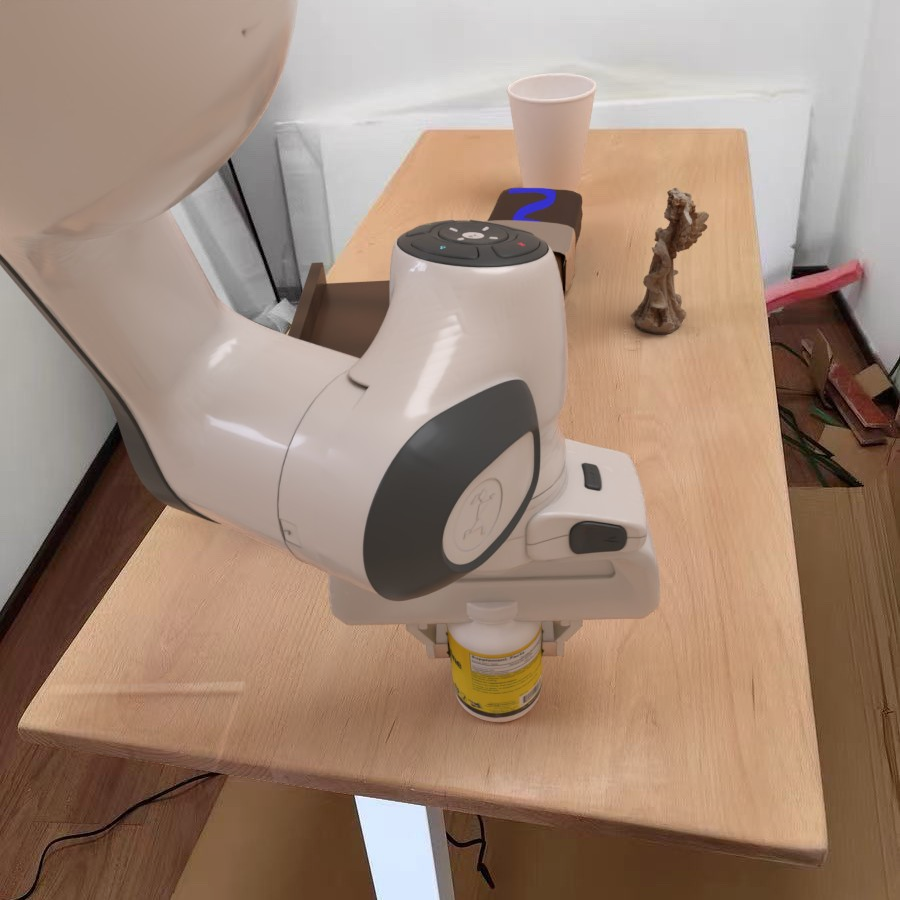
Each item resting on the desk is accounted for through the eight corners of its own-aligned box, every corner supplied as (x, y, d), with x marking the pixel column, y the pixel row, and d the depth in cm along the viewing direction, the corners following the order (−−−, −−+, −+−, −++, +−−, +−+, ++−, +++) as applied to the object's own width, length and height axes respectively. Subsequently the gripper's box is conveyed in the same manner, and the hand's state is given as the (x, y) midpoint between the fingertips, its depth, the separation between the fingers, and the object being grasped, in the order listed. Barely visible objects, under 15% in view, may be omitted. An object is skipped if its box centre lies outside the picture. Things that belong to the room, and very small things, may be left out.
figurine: (647, 302, 100) (658, 175, 91) (698, 313, 97) (715, 184, 88) (623, 332, 95) (631, 202, 86) (675, 344, 93) (690, 211, 83)
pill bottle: (457, 650, 63) (447, 542, 56) (543, 653, 62) (542, 544, 55) (449, 724, 58) (436, 616, 51) (541, 728, 57) (541, 620, 51)
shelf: (423, 529, 73) (410, 422, 66) (284, 534, 74) (256, 428, 67) (436, 351, 95) (428, 256, 88) (328, 356, 96) (311, 262, 89)
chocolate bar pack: (590, 224, 114) (592, 165, 108) (552, 367, 94) (552, 304, 88) (500, 219, 117) (497, 162, 111) (444, 357, 97) (437, 296, 91)
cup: (605, 210, 120) (610, 91, 111) (523, 224, 119) (521, 105, 109) (576, 180, 130) (578, 68, 120) (500, 192, 128) (496, 80, 118)
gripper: (297, 540, 47) (336, 692, 56) (677, 528, 46) (656, 686, 54) (315, 466, 52) (347, 616, 61) (658, 453, 51) (641, 609, 59)
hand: (496, 649), depth 58 cm, fingers closed on pill bottle, 6 cm apart
